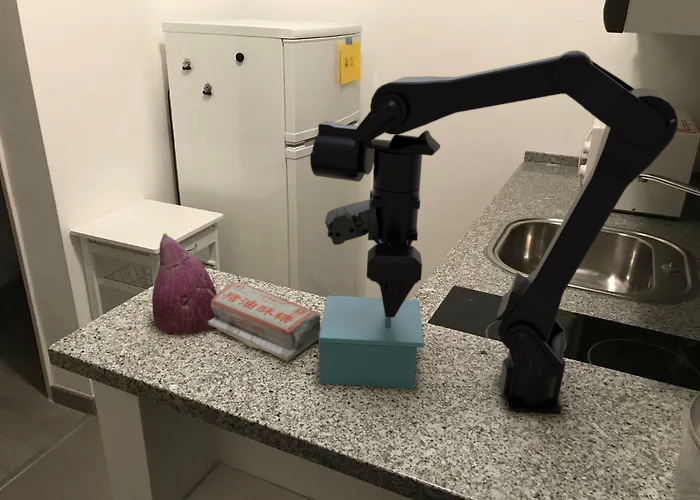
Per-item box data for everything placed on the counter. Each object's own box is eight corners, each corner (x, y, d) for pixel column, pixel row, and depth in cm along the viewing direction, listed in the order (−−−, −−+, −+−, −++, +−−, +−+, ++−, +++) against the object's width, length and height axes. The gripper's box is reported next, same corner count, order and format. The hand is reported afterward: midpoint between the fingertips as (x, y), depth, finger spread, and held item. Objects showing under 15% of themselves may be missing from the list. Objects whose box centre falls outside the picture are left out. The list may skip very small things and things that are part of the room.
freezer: (410, 341, 86) (413, 304, 84) (413, 388, 76) (417, 348, 73) (326, 336, 87) (326, 299, 84) (318, 383, 76) (318, 342, 74)
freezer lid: (418, 304, 84) (421, 273, 82) (423, 348, 73) (426, 313, 71) (326, 299, 84) (327, 268, 82) (318, 342, 74) (319, 308, 72)
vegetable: (147, 339, 90) (106, 252, 85) (197, 305, 98) (162, 223, 92) (187, 346, 84) (146, 253, 78) (238, 309, 91) (203, 221, 86)
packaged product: (331, 305, 85) (287, 334, 78) (329, 333, 87) (287, 365, 80) (240, 271, 94) (193, 294, 87) (241, 297, 96) (195, 322, 89)
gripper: (335, 163, 80) (334, 267, 86) (322, 208, 63) (322, 333, 69) (417, 166, 79) (409, 270, 85) (426, 212, 62) (416, 338, 68)
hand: (389, 299), depth 77 cm, fingers open, 9 cm apart
